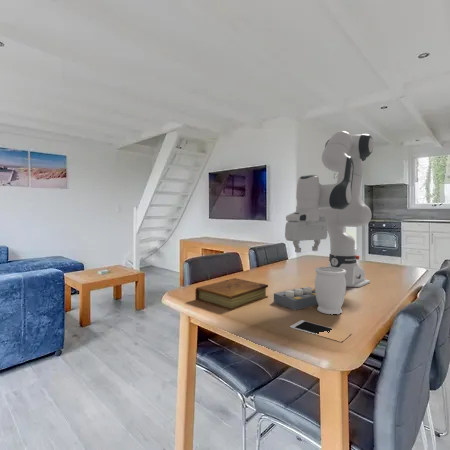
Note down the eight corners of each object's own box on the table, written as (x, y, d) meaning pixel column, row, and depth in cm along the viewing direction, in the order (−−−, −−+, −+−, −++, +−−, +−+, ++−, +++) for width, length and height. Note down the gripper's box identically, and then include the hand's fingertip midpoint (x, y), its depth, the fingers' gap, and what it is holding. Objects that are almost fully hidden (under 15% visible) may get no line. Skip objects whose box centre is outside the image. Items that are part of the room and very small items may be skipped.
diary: (233, 290, 137) (233, 277, 137) (267, 298, 125) (268, 284, 125) (195, 301, 120) (195, 286, 120) (230, 311, 108) (230, 295, 108)
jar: (309, 306, 113) (310, 266, 112) (336, 306, 114) (337, 266, 113) (321, 316, 102) (322, 272, 101) (350, 316, 103) (352, 272, 102)
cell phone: (341, 344, 82) (342, 342, 82) (289, 328, 93) (289, 326, 93) (352, 335, 88) (352, 333, 88) (301, 321, 99) (301, 319, 99)
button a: (289, 297, 117) (289, 289, 117) (295, 299, 114) (296, 291, 114) (283, 298, 115) (283, 291, 115) (289, 301, 112) (289, 293, 112)
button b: (307, 293, 122) (307, 286, 122) (313, 295, 120) (313, 288, 120) (301, 295, 121) (302, 287, 121) (308, 296, 118) (308, 289, 118)
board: (302, 296, 127) (302, 287, 126) (324, 302, 117) (324, 293, 117) (273, 302, 118) (273, 292, 118) (294, 310, 109) (295, 300, 108)
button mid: (298, 295, 120) (298, 288, 120) (305, 297, 117) (305, 289, 117) (292, 296, 118) (293, 289, 118) (299, 298, 115) (299, 291, 115)
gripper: (319, 216, 127) (318, 249, 128) (282, 216, 116) (282, 252, 117) (331, 216, 122) (330, 250, 122) (294, 216, 111) (293, 254, 112)
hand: (306, 251), depth 120 cm, fingers open, 8 cm apart
